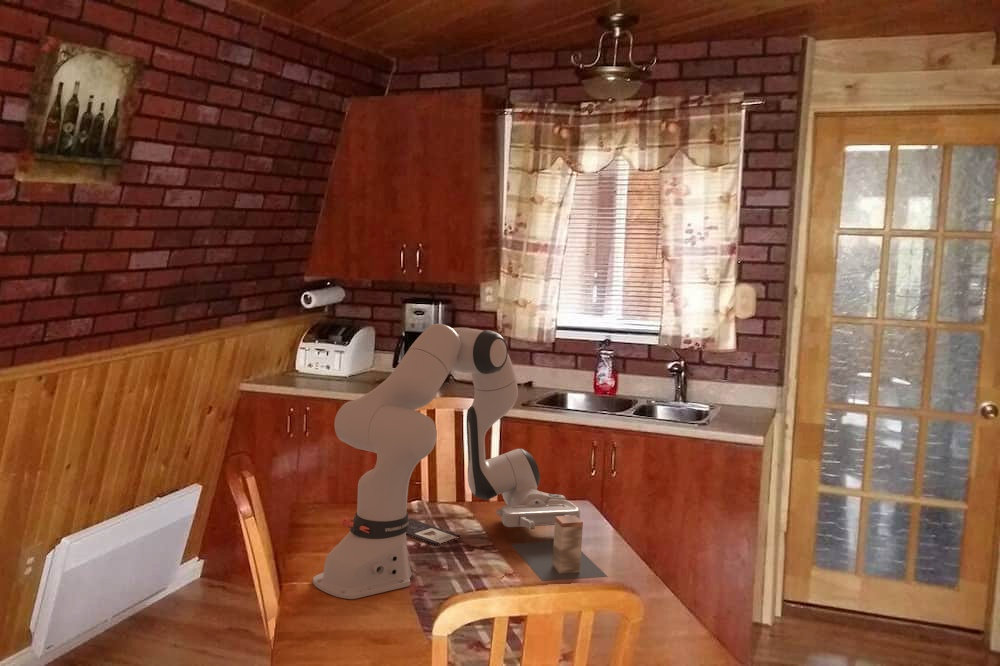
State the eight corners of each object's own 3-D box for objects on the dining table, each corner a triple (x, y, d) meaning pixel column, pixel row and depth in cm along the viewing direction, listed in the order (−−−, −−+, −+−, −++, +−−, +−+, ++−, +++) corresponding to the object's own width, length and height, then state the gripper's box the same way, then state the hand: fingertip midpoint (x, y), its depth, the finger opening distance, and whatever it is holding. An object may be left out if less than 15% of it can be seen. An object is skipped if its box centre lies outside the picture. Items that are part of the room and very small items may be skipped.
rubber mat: (607, 578, 210) (607, 576, 210) (542, 583, 206) (542, 580, 206) (570, 543, 233) (570, 540, 233) (510, 546, 229) (510, 544, 229)
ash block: (559, 573, 211) (562, 523, 209) (552, 565, 215) (555, 516, 214) (579, 572, 212) (582, 522, 211) (572, 564, 217) (575, 515, 215)
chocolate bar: (411, 518, 245) (460, 535, 233) (411, 522, 245) (460, 539, 233) (386, 525, 238) (436, 543, 226) (386, 529, 238) (435, 547, 226)
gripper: (494, 497, 234) (510, 514, 221) (569, 494, 240) (589, 511, 227) (493, 521, 235) (509, 539, 222) (567, 518, 241) (587, 535, 228)
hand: (550, 525), depth 224 cm, fingers open, 8 cm apart
